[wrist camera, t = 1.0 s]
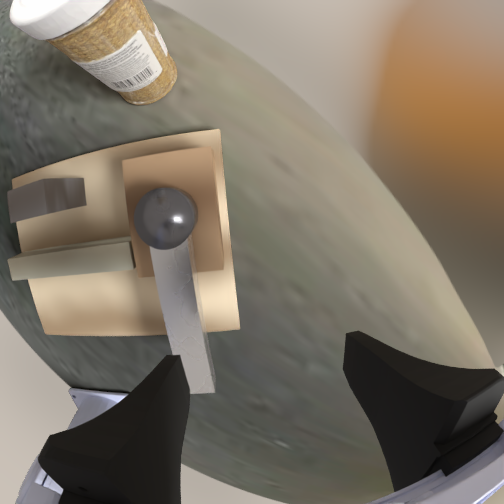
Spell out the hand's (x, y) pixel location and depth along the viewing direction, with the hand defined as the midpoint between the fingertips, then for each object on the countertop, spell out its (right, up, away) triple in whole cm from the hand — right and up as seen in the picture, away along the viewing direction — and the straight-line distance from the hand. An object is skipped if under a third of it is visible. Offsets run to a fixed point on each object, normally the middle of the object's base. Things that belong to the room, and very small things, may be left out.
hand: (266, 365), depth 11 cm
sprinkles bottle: (-8, +17, +5) cm, 20 cm away
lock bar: (-5, +2, +5) cm, 7 cm away
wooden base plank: (-11, +5, +8) cm, 14 cm away
